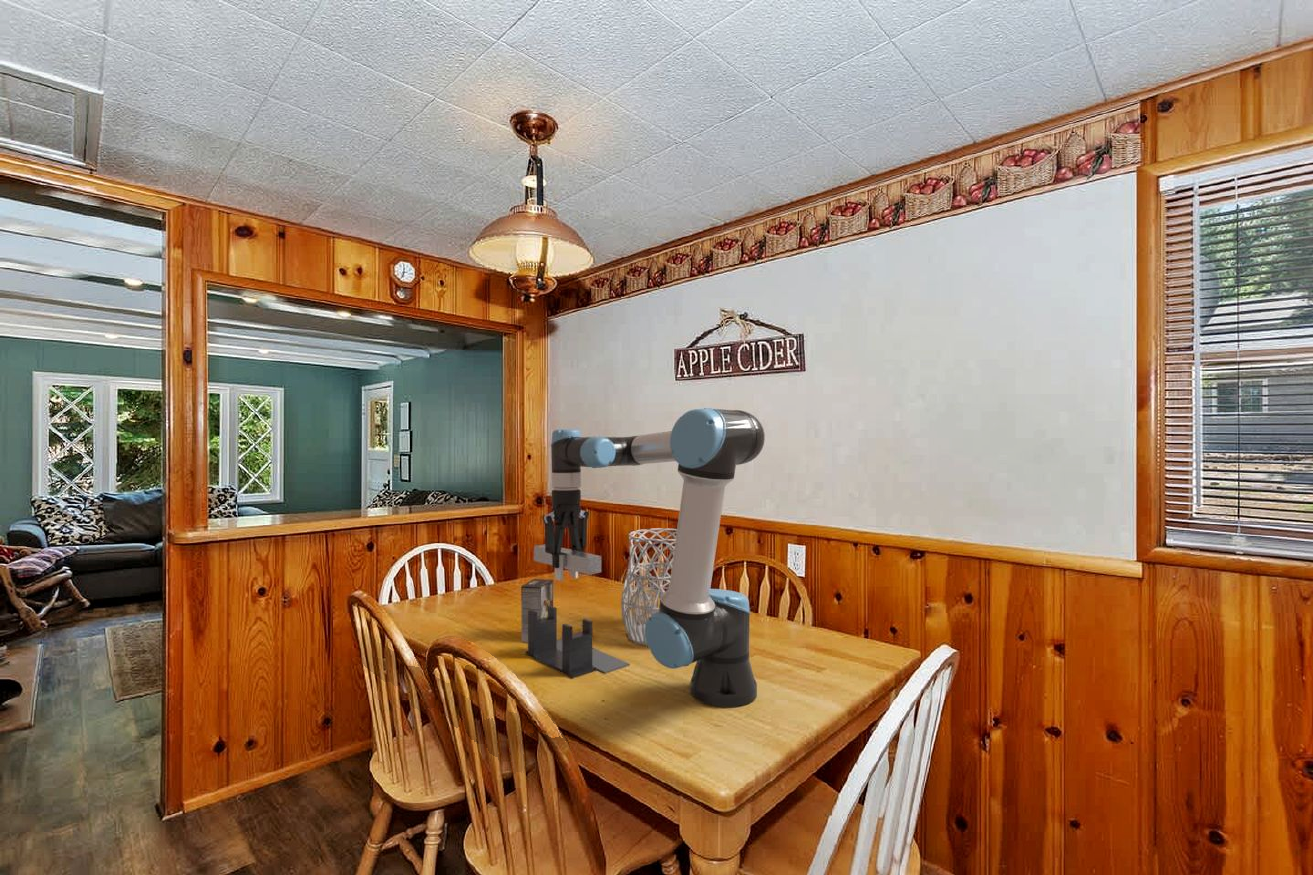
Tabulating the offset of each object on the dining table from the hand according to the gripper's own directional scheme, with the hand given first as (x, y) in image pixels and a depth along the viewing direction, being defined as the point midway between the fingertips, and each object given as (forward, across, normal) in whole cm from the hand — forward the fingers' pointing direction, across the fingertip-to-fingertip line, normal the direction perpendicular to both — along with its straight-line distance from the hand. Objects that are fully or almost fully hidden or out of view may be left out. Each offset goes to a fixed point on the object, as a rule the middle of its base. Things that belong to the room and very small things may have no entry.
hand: (566, 578), depth 157 cm
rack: (+21, +2, 0) cm, 21 cm away
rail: (-3, 0, 0) cm, 3 cm away
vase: (+22, -32, +3) cm, 39 cm away
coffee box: (+22, -4, -20) cm, 30 cm away
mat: (+21, -6, 0) cm, 22 cm away
